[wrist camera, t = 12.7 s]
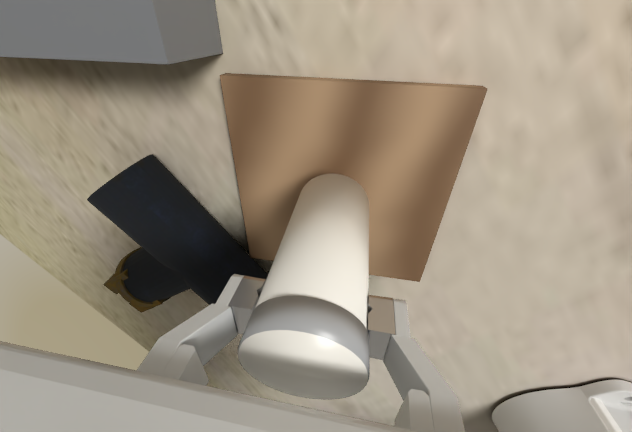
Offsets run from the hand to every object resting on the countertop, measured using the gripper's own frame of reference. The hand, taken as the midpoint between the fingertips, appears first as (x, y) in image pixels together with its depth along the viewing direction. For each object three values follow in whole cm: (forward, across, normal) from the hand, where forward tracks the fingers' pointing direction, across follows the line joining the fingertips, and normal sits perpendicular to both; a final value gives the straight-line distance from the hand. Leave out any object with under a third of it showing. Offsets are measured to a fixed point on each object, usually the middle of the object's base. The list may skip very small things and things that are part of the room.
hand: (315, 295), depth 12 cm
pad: (+9, 0, 0) cm, 9 cm away
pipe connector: (+10, +13, +7) cm, 18 cm away
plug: (+7, 0, 0) cm, 7 cm away
